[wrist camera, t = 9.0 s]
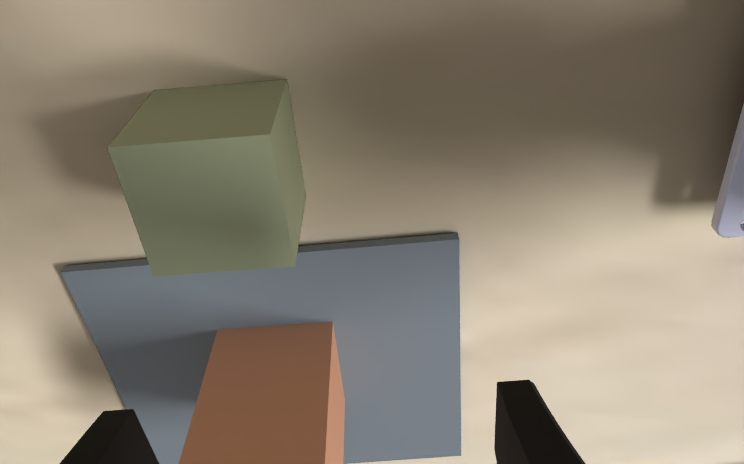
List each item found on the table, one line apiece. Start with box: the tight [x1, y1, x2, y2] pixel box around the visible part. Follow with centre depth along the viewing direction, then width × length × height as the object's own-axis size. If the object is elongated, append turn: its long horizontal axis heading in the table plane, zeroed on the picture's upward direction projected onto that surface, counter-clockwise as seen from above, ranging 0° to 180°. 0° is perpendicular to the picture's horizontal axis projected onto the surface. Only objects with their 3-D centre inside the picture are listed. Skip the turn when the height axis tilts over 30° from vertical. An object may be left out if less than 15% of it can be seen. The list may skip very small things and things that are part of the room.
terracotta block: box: [179, 322, 345, 464], centre depth 21 cm, size 4×4×6 cm
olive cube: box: [107, 79, 306, 277], centre depth 17 cm, size 4×4×4 cm
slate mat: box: [60, 233, 461, 464], centre depth 24 cm, size 14×12×1 cm
